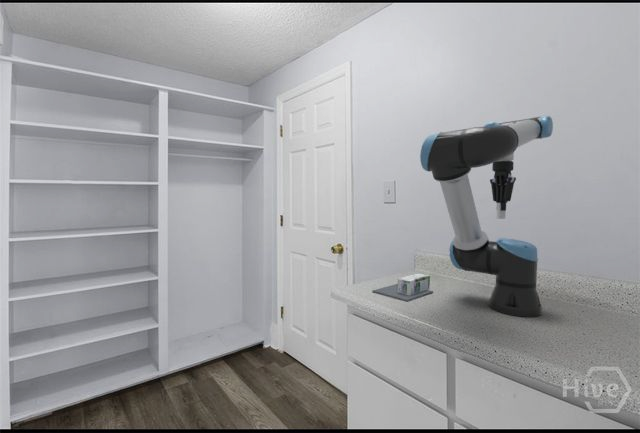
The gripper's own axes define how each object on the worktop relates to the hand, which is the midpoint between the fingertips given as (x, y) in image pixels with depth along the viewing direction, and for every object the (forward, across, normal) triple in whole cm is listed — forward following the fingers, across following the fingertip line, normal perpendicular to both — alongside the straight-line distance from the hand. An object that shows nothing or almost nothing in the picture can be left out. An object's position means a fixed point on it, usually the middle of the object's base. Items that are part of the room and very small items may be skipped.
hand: (500, 218), depth 133 cm
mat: (+29, -2, +42) cm, 52 cm away
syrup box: (+26, +1, +32) cm, 41 cm away
